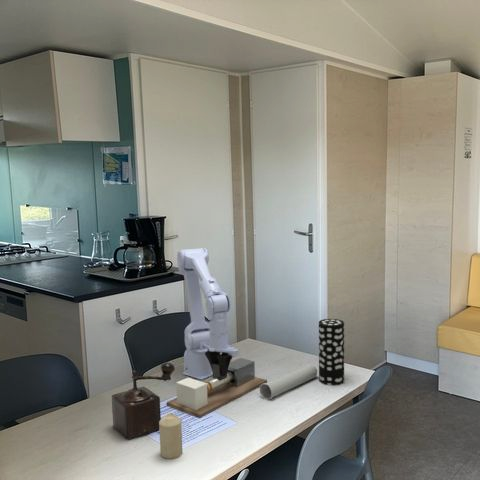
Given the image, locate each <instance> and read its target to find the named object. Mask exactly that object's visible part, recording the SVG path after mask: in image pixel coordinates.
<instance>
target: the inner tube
mask: <svg viewBox="0 0 480 480" xmlns="http://www.w3.org/2000/svg"><path fill="white" fill-rule="evenodd" d="M212 369H213V375H212V379H210V380H208V381H205V382H204V381H203V382H204V383H207V393H208V392H210V391H211V390H214V389H216V388H218V387H220V386H222V385H224V384H226V383H228V382H230V381H232V380H235V372H234V371H229V372H227V375H225V376H221V372H220V363H219V361H217V362H215V363H212Z"/></svg>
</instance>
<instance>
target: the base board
mask: <svg viewBox="0 0 480 480" xmlns="http://www.w3.org/2000/svg"><path fill="white" fill-rule="evenodd" d="M267 382H268V379H265V378H261V377H258V376H255V379H253V380H251V381H249V382H247V383H245V384H243V385H241V386H239V387H235V386H231V385H228V384H224V385H222V386H220V387H218V388H216V389H214V390H211V391H210V392H208V393H207V399H208V404H207V405H205V406H203V407H201V408H199V409H197V410H194V409H192V408H189V407H186V406H184V405H181V404H178V403H177V397H175V398H173V399H171V400H168V401H166V406H167V407H170V408H173V409H175V410H178V411H180V412H184V413H186V414H188V415H191V416H193V417H196V418H198V419H200V418H203V417H204V416H206V415H208V414H210V413H212V412H214V411H216V410H218V409H220V408H222V407H224V406H225V405H228V404H230V403H231V402H233V401H235V400H237V399H239V398H241V397H243V396H245V395H247V394H249V393H250V392H253V391H254V390H257V389H258V388H260V385H262V384H263V383H267Z"/></svg>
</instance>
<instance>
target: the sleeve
mask: <svg viewBox="0 0 480 480" xmlns="http://www.w3.org/2000/svg"><path fill="white" fill-rule="evenodd" d="M229 371H234V372H235V380H232V381H230V382H228V383H226V384H228V385H231V386H235V387H239V386H241V385H243V384H245V383H247V382H249V381H251V380H253V379H255V377H256V376H255V375H256V374H255V371H256V370H255V361H253V360H251V359H246V358H243V357H239V358H237V359H235V360H231V361H230V364H229V367H228V371H227V372H229Z"/></svg>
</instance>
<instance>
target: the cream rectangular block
mask: <svg viewBox="0 0 480 480" xmlns="http://www.w3.org/2000/svg"><path fill="white" fill-rule="evenodd" d="M175 384H176V385H175V386H176V398H177V403H178V404H181V405H184V406H186V407H189V408H192V409H194V410H197V409H199V408H201V407H203V406H205V405H207V404H208V399H207V383H204V381H202V380H196V379H194V378H191V377H185V378H183V379H181V380H179V381H177V382H175Z"/></svg>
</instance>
